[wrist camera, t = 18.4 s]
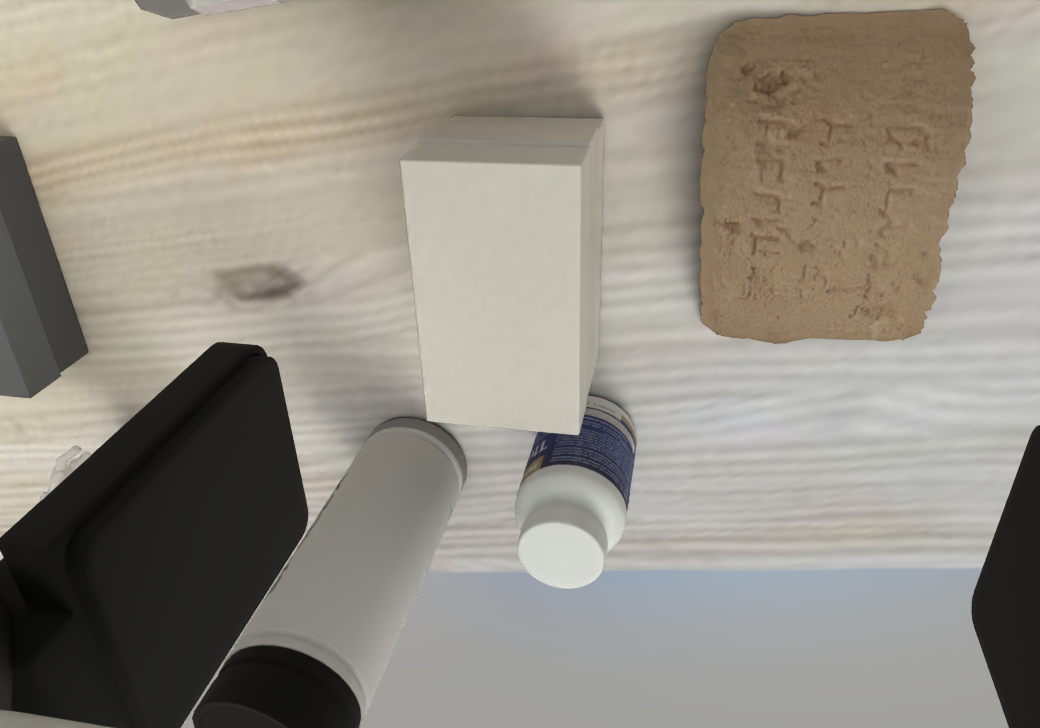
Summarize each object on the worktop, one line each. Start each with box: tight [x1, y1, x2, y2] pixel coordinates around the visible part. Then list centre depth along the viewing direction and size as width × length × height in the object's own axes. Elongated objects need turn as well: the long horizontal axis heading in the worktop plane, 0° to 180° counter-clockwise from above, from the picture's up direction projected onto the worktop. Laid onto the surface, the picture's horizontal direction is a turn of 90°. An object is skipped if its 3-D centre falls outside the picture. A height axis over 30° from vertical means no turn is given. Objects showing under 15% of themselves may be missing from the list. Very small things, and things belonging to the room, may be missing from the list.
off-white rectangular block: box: [419, 116, 605, 398], centre depth 37 cm, size 12×7×5 cm, turn 2°
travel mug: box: [192, 418, 467, 728], centre depth 39 cm, size 6×7×20 cm
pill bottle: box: [515, 396, 637, 588], centre depth 40 cm, size 5×5×10 cm
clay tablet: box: [699, 9, 976, 344], centre depth 34 cm, size 14×10×3 cm
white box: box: [400, 143, 590, 435], centre depth 34 cm, size 12×7×2 cm, turn 2°
